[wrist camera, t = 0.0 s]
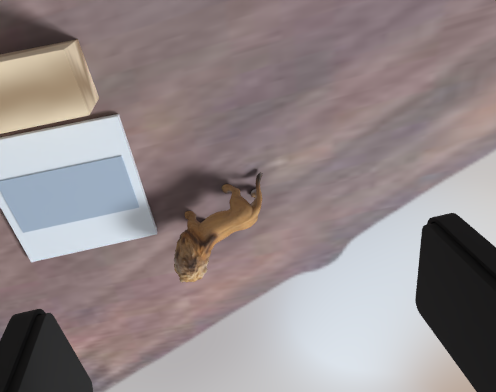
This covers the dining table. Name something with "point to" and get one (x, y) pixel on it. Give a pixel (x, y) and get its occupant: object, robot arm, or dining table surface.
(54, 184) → the board
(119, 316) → the dining table surface
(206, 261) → the lion figurine
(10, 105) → the oak block
